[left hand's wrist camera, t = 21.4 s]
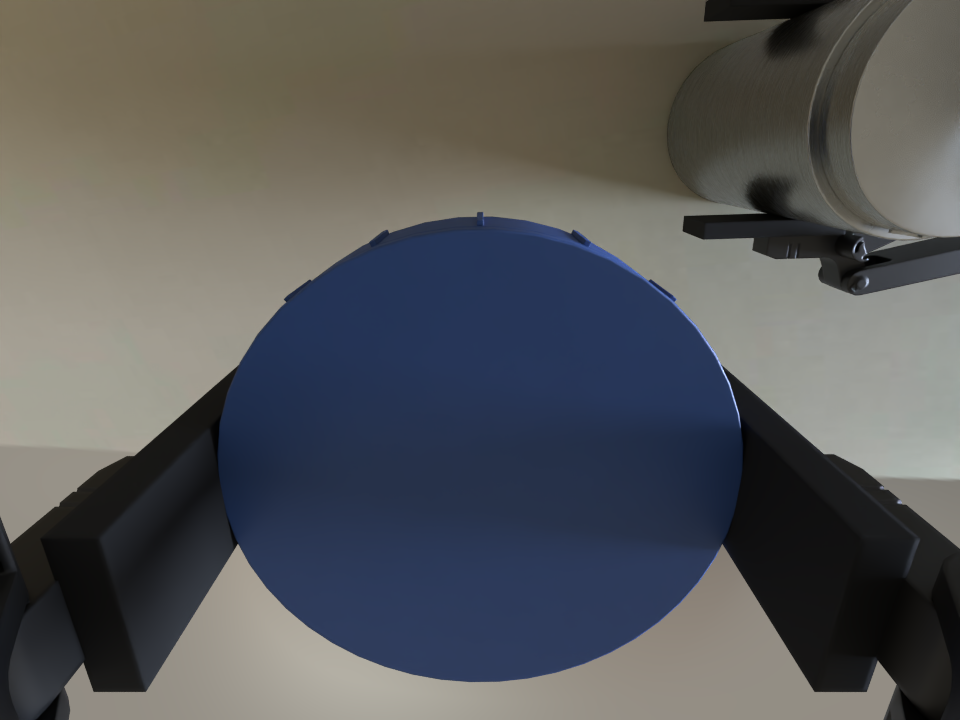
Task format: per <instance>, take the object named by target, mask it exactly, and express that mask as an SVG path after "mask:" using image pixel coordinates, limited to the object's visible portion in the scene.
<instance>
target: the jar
mask: <svg viewBox="0 0 960 720" xmlns="http://www.w3.org/2000/svg"><path fill="white" fill-rule="evenodd" d="M667 138H668V149H669V154H670V158H671V161H672V164H673V166H674V168H675V170H676V172H677V174H678V176H679V177H680V179H681V180H682V181H683V182H684V183H685V185H686V186H687V187H688V188H689V189H691V190H692V191H693V192H694V193H696V194H698V195H699V196H701V197H703V198H705V199H708V200H710V201H714V202H718V203H723V204H727V205H732V206H736V207H741V208H746V209H750V210H755V211H759V212H764V213H768V214H773V215H778V216H782V217H787V218H791V219H796V220H801V221H805V222H810V223H814V224H819V225H823V226H828V227H833V228H837V229H842V230H846V231H851V232H856V233H860V234H865V235H869V236H874V237H879V238H883V239H890V240H901V241H903V240H920V239H925V238H931V237H940V238H947V237H960V0H834V1H832V2H830V3H827V4H825V5H823V6H820V7H818V8H816V9H813V10H811V11H809V12H806V13H804V14H801V15H799V16H797V17H794V18H792V19H790V20H787V21H785V22H783V23H780V24H778V25H776V26H773V27H771V28H768V29H766V30H764V31H761V32H759V33H757V34H754V35H752V36H750V37H747V38H745V39H743V40H740V41H738V42H736V43H733V44H731V45H728V46H726V47H724V48H722V49H720V50H718V51H716V52H715V53H713V54H712V55H710V56H709V57H707V58H706V59H705V60H704V61H703V62H702V63H700V64H699V65H698V66H697V67H696V68H695V69H694V70H693V72H692V73H691V74H690V75H689V76H688V78H687V79H686V81H685V82H684V83H683V85H682V87H681V89H680V90H679V92H678V94H677V96H676V99H675V101H674V103H673V106H672V109H671V113H670V117H669V122H668V133H667Z"/></svg>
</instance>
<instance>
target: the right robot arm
mask: <svg viewBox="0 0 960 720" xmlns="http://www.w3.org/2000/svg"><path fill="white" fill-rule="evenodd" d="M832 1H834V0H708V1H707V2H706V5H705V15H704V22H706V21H734V20H762V19H790V18H794V17H797V16H799V15H801V14H804V13H806V12H809V11H811V10H813V9H816V8H818V7H820V6H823V5H825V4H827V3H830V2H832ZM683 232H686V233H688V234H691V235H693V236H696V237H698V238H701V239H731V238H754V243H753V251H756V252H758V253H761V254H763V255H766V256H769V257H772V258H774V259H794V258H820V260H821V264H822V267H821V268H820V270H819V274H818V277H819V280H820V281H821V282H822V283H825V284H827V285H829V286H832V287H834V288H837V289H839V290H842V291H845V292H848V293H850V294H853V295H863V294H868V293H872V292H877V291H882V290H886V289H891V288H895V287H900V286H905V285H909V284H914V283H918V282H923V281H928V280H932V279H937V278H941V277H946V276H951V275H955V274H960V237H947V238H940V237H937V238H933V239H928V240H924V241H920V242H915V243H911V244H906V245H902V246H897V247H893V248H888V249H884V250H879V251H875V252H871V251H873V250H876V249H878V248H880V247H882V246H884V245H887V244H889V243H891V242H893V241H895V240H890V239H883V238H879V237H874V236H869V235H865V234H860V233H856V232H851V231H846V230H842V229H837V228H833V227H828V226H823V225H819V224H814V223H810V222H805V221H801V220H796V219H791V218H787V217H782V216H778V215H773V214H768V213H763V214H733V215H702V216H684V223H683ZM869 252H870V253H869Z"/></svg>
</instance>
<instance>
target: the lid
mask: <svg viewBox="0 0 960 720" xmlns="http://www.w3.org/2000/svg"><path fill="white" fill-rule="evenodd" d="M284 300H285V301H286V303H285V304H284V305H283V306H282V307H281V308H280V309H279V310H278V311H277V312H276V313H275V315H274V316H273V317H272V318H271V319H270V320H269V322H268V323H267V324H266V325H265V326H264V327H263V329H262V330H261V331H260V332H259V333H258V335H257V336H256V338H255V339H254V341H253V343H252V344H251V346H250V347H249V349H248V351H247V352H246V354H245V355H244V357H243V359H242V360H241V362H240V364H239V366H238V369H237V371H236V373H235V376H234V378H233V380H232V383H231V385H230V388H229V390H228V392H227V396H226V400H225V404H224V408H223V412H222V416H221V420H220V427H219V439H218V451H217V458H218V472H219V478H220V484H221V489H222V494H223V499H224V504H225V509H226V513H227V517H228V520H229V523H230V525H231V528H232V531H233V533H234V536H235V538H236V541H237V542H238V544H239V546H240V548H241V550H242V552H243V553H244V555H245V557H246V559H247V561H248V563H249V564H250V566H251V567H252V569H253V570H254V571H255V573H256V574H257V575H258V577H259V578H260V579H261V581H262V582H263V584H264V585H265V586H266V588H267V589H268V590H269V591H270V592H271V593H272V594H273V595H274V596H275V597H276V598H277V599H278V600H279V601H280V602H281V604H282V605H283V606H284V607H285V608H286V609H287V610H289V611H290V612H291V613H292V614H293V615H295V616H296V617H297V618H298V619H299V620H301V621H302V622H303V623H304V624H305V625H307V626H308V627H309V628H311V629H312V630H314V631H315V632H317V633H318V634H320V635H321V636H323V637H324V638H326V639H327V640H329V641H330V642H332V643H334V644H335V645H337V646H339V647H341V648H343V649H345V650H347V651H349V652H351V653H353V654H355V655H357V656H359V657H362V658H364V659H367V660H369V661H372V662H374V663H377V664H379V665H382V666H384V667H388V668H391V669H395V670H398V671H402V672H406V673H409V674H413V675H418V676H424V677H429V678H435V679H441V680H452V681H465V682H500V681H509V680H518V679H527V678H532V677H537V676H542V675H546V674H552V673H556V672H560V671H563V670H566V669H569V668H572V667H576V666H579V665H582V664H585V663H587V662H589V661H592V660H594V659H597V658H599V657H601V656H603V655H606V654H608V653H610V652H612V651H614V650H616V649H618V648H619V647H621V646H623V645H625V644H627V643H629V642H630V641H632V640H634V639H636V638H637V637H638V636H640V635H641V634H643V633H644V632H646V631H647V630H648V629H650V628H651V627H653V626H654V625H655V624H657V623H658V622H660V621H661V620H662V619H663V618H664V617H665V616H666V615H667V614H668V613H670V612H671V611H672V610H673V609H674V608H675V607H676V606H677V605H679V604H680V603H681V602H682V600H683V599H684V598H685V597H686V596H687V595H688V594H689V592H690V591H691V590H692V589H693V588H694V587H695V586H696V585H697V583H698V582H699V581H700V580H701V578H702V577H703V575H704V574H705V572H706V571H707V569H708V568H709V566H710V565H711V563H712V562H713V560H714V559H715V557H716V555H717V553H718V551H719V549H720V547H721V545H722V543H723V541H724V539H725V537H726V535H727V533H728V531H729V528H730V525H731V522H732V519H733V516H734V511H735V507H736V502H737V497H738V492H739V487H740V482H741V476H742V470H743V440H742V433H741V425H740V418H739V412H738V409H737V406H736V402H735V399H734V396H733V392H732V389H731V386H730V383H729V381H728V379H727V376H726V374H725V372H724V370H723V368H722V366H721V364H720V362H719V360H718V358H717V356H716V354H715V352H714V351H713V349H712V348H711V346H710V345H709V343H708V342H707V341H706V339H705V338H704V336H703V335H702V333H701V332H700V330H699V329H698V327H697V326H696V325H695V324H694V323H693V322H692V321H691V320H690V319H689V317H688V316H687V315H686V314H685V313H684V312H683V311H682V310H681V309H680V308H679V307H678V306H677V305H676V304H675V303H674V302H675V301H676V300H677V299H676V298H675V297H674V296H673V295H671V294H670V293H669V292H667V291H666V290H665V289H663V288H662V287H660V286H659V285H658V284H656V283H655V282H654V281H652V280H649V281H647V280H646V279H645V278H644V277H642V276H641V275H640V274H638V273H637V272H636V271H634V270H633V269H632V268H630V267H629V266H628V265H626V264H625V263H624V262H622V261H621V260H620V259H618V258H617V257H615V256H614V255H612V254H610V253H608V252H607V251H605V250H603V249H602V248H600V247H598V246H596V245H595V244H593V243H591V242H590V241H589V240H588V239H587V238H585V237H584V236H583V235H582V234H580V233H579V232H578V231H575V230H573V231H572V233H571V234H570V233H567V232H565V231H563V230H560V229H557V228H553V227H549V226H545V225H541V224H537V223H534V222H530V221H525V220H517V219H508V218H499V217H483V212H477V217H457V218H451V219H444V220H438V221H432V222H425V223H422V224H418V225H415V226H412V227H408V228H405V229H402V230H398V231H395V232H392V233H390V234H389V232H388V230H385V231H383V232H381V233H380V234H379V235H378V236H376V237H375V238H374V239H373V240H371V241H370V242H369V243H368V244H366V245H363V246H362V247H360V248H358V249H357V250H355V251H354V252H352V253H351V254H349V255H348V256H346V257H344V258H343V259H341V260H340V261H338V262H337V263H335V264H334V265H332V266H331V267H330V268H328V269H327V270H326V271H324V272H323V273H322V274H320V275H319V276H318V277H316V278H315V279H314V280H312V281H311V280H308V281H307V282H306V283H304V284H303V285H301V286H300V287H299V288H297V289H296V290H295V291H293V292H292V293H291V294H289V295H288V296H287V297H286V298H285V299H284Z"/></svg>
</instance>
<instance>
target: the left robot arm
mask: <svg viewBox="0 0 960 720" xmlns="http://www.w3.org/2000/svg"><path fill="white" fill-rule="evenodd" d="M238 366H239V365H238ZM238 366H237V367H236V368H235V369H234V370H233V371H231V372H230V373H229V374H228V375H227V376H226V377H225V378H223V379H222V380H221V381H220V382H219V383H218V384H217V385H215V386H214V387H213V388H212V389H211V390H210V391H209V392H207V393H206V394H205V395H204V396H203V397H202V398H200V399H199V400H198V401H197V402H196V403H195V404H194V405H192V406H191V407H190V408H189V409H188V410H187V411H186V412H184V413H183V414H182V415H181V416H180V417H179V418H178V419H176V420H175V421H174V422H173V423H172V424H171V425H170V426H168V427H167V428H166V429H165V430H164V431H163V432H161V433H160V434H159V435H158V436H157V437H156V438H155V439H153V440H152V441H151V442H150V443H149V444H148V445H147V446H145V447H144V448H143V449H142V450H141V451H140V452H139V453H137V454H136V455H135V456H126V457H124V458H123V459H121V460H119V461H117V462H115V463H113V464H111V465H109V466H107V467H105V468H103V469H101V470H99V471H98V472H96V473H95V474H94V475H93V476H92V477H90V478H89V479H88V480H87V481H86V482H84V483H83V484H82V485H81V486H80V487H78V488H77V492H72V493H71V494H70V495H69V496H68V497H66V498H65V499H64V500H63V501H61V502H60V506H59V507H54V508H53V509H52V510H51V511H49V512H48V513H47V514H46V515H45V516H43V517H42V518H41V519H40V520H39V521H37V522H36V523H35V524H34V525H33V526H31V527H30V528H29V529H28V530H26V531H25V532H24V533H23V534H22V535H20V536H19V537H18V538H17V539H16V540H14V541H13V542H12V543H11V544H10V542H9V539H8V536H7V534H6V531H5V528H4V526H3V523H2V520H1V518H0V720H69V714H70V706H69V700H68V696H67V693H66V691H65V688H64V686H65V685H66V684H67V683H68V681H69V680H70V679H71V677H72V676H73V675H74V674H75V672H76V671H77V670H78V668H79V667H80V666H81V665H82V663H84V665H85V668H86V671H87V674H88V677H89V680H90V682H91V685H92V688H93V691H94V692H146V691H147V689H148V687H149V686H150V684H151V683H152V681H153V679H154V678H155V676H156V674H157V673H158V671H159V670H160V668H161V667H162V665H163V663H164V662H165V660H166V658H167V657H168V655H169V654H170V652H171V650H172V649H173V647H174V646H175V644H176V642H177V641H178V639H179V638H180V636H181V634H182V633H183V631H184V630H185V628H186V626H187V625H188V623H189V622H190V620H191V618H192V617H193V615H194V614H195V612H196V610H197V609H198V607H199V605H200V604H201V602H202V601H203V599H204V597H205V596H206V594H207V593H208V591H209V589H210V588H211V586H212V584H213V583H214V581H215V580H216V578H217V577H218V575H219V573H220V572H221V570H222V568H223V567H224V565H225V564H226V562H227V560H228V559H229V557H230V556H231V554H232V552H233V551H234V549H235V548H236V546H237V544H238V542H237V541H236V538H235V536H234V533H233V531H232V528H231V525H230V523H229V520H228V517H227V513H226V509H225V504H224V499H223V494H222V489H221V484H220V478H219V472H218V458H217V451H218V439H219V427H220V420H221V416H222V412H223V408H224V404H225V400H226V396H227V392H228V390H229V388H230V385H231V383H232V380H233V378H234V376H235V373H236V371H237V369H238ZM721 366H722V365H721ZM722 368H723V370H724V372H725V374H726V376H727V379H728V381H729V383H730V386H731V389H732V392H733V396H734V399H735V402H736V406H737V409H738V412H739V418H740V425H741V433H742V440H743V470H742V476H741V482H740V487H739V492H738V497H737V502H736V507H735V511H734V516H733V519H732V522H731V525H730V528H729V531H728V533H727V535H726V537H725V539H724V541H723V543H722V544H723V545H724V547H725V549H726V550H727V552H728V553H729V555H730V557H731V558H732V560H733V561H734V563H735V565H736V566H737V568H738V570H739V571H740V573H741V574H742V576H743V578H744V579H745V581H746V582H747V584H748V586H749V587H750V589H751V590H752V592H753V594H754V595H755V597H756V598H757V600H758V602H759V603H760V605H761V607H762V608H763V610H764V611H765V613H766V615H767V616H768V618H769V619H770V621H771V623H772V624H773V626H774V627H775V629H776V631H777V632H778V634H779V635H780V637H781V639H782V640H783V642H784V643H785V645H786V647H787V648H788V650H789V652H790V653H791V655H792V656H793V658H794V659H795V661H796V663H797V664H798V666H799V668H800V669H801V671H802V672H803V674H804V675H805V677H806V679H807V680H808V682H809V684H810V685H811V687H812V688H813V690H814V692H867V689H868V687H869V684H870V681H871V678H872V675H873V672H874V669H875V667H876V664H877V661H879V662H880V664H881V665H882V666H883V667H884V669H885V670H886V671H887V672H888V674H889V675H890V676H891V678H892V679H893V680H894V681H895V683H896V684H897V685H896V688H895V691H894V693H893V696H892V699H891V701H890V704H889V707H888V709H887V712H886V715H885V717H884V720H960V549H959V548H958V547H957V546H956V545H954V544H953V543H952V542H951V541H950V540H948V539H947V538H946V537H945V536H943V535H942V534H941V533H940V532H939V531H937V530H936V529H935V528H934V527H933V526H931V525H930V524H929V523H928V522H926V521H925V520H924V519H923V518H922V517H920V516H919V515H918V514H917V513H915V512H914V511H913V510H912V509H911V508H909V507H908V506H907V505H902V503H901V500H900V499H898V498H897V497H896V496H895V495H894V494H892V493H891V492H890V491H889V490H884V486H883V485H881V484H880V483H879V482H878V481H877V480H875V479H874V478H873V477H872V476H871V475H869V474H868V473H867V472H866V471H864V470H863V469H862V468H860V467H858V466H856V465H854V464H852V463H850V462H848V461H846V460H844V459H842V458H840V457H838V456H836V455H834V454H823V453H822V452H821V451H820V450H818V449H817V448H816V447H815V446H814V445H813V444H812V443H810V442H809V441H808V440H807V439H806V438H805V437H803V436H802V435H801V434H800V433H799V432H798V431H797V430H795V429H794V428H793V427H792V426H791V425H790V424H789V423H787V422H786V421H785V420H784V419H783V418H782V417H781V416H779V415H778V414H777V413H776V412H775V411H774V410H773V409H771V408H770V407H769V406H768V405H767V404H766V403H764V402H763V401H762V400H761V399H760V398H759V397H758V396H756V395H755V394H754V393H753V392H752V391H751V390H750V389H748V388H747V387H746V386H745V385H744V384H743V383H742V382H740V381H739V380H738V379H737V378H736V377H735V376H734V375H732V374H731V373H730V372H729V371H728V370H727V369H725V368H724V367H723V366H722Z"/></svg>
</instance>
